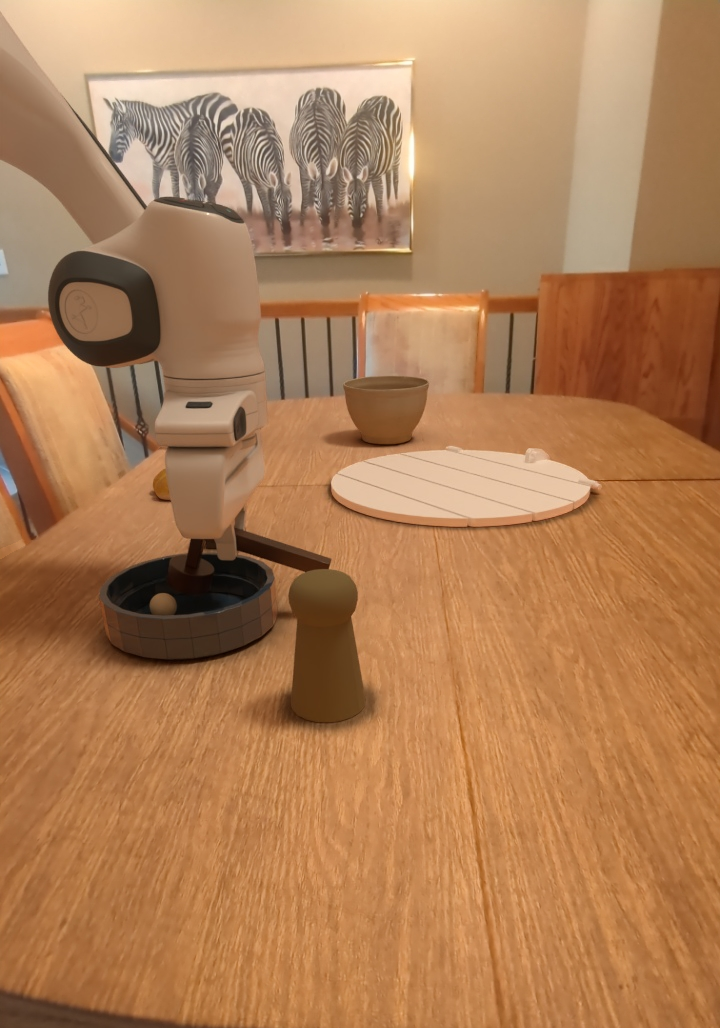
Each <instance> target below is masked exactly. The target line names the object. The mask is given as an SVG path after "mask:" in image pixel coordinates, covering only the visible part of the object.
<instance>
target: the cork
mask: <svg viewBox="0 0 720 1028" xmlns="http://www.w3.org/2000/svg"><path fill="white" fill-rule="evenodd" d="M287 596H288V604H289V606H290V608H291V609H290V610H291V612H292V614H293V616H294V617H295V618H296V629H295V630H296V631H295V644H294V654H293V655H294V657H293V669H292V672H293V673H292V681H291V682H292V683H291V695H290V697H291V698H290V706H291V710H292V711H293V712H294V714H296V715H297V716H298V717H300V718H302V719H304V720H306V721H310V722H314V723H330V724H331V723H336V722H343V721H345V720H348V719H351V718H354V717H355V716H357V715H358V714H359V713H362V710H363V709H364V708H365V706H366V694H365V689H364V681H363V676H362V671H361V665H360V664H361V663H360V659H359V653H358V647H357V642H356V636H355V632H354V630H355V629H354V624H353V618H352V616H353V614H355V612H356V609H357V605H358V600H359V591H358V588H357V585H356V583H355V581H354V580H353V578H352V577H351V576H350V575H349V574H347V573H345V572H343V571H340V570H337V569H330V568H329V569H318V570H312V571H307V572H303V573H300V574H299V575H298V576H296V577H295V578H294V579H293V580H292V583H291V584H290V586H289V590H288V595H287Z"/></svg>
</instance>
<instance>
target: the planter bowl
mask: <svg viewBox="0 0 720 1028" xmlns="http://www.w3.org/2000/svg"><path fill="white" fill-rule="evenodd" d="M429 386H430V381H429V380H428V379H426V378H423V377H418V376H409V375H373V376H372V375H371V376H363V377H357V378H353V379H348V380H346V381H344V382H343V384H342V387H343V390H344V397H345V398H344V399H345V405H346V409H347V411H348V414H349V417H350V419H351V421H352V423H353V425H354V426H355V427H356V429H357V430H358V431H359V433H360V435H361V438H362V441H363V442H365V443H369V444H374V445H397V444H404V443H407V442H409V441H410V440H412V436H413V435H412V434H413V432H414V430H415V429H416V428H417V426H418V425H419V424H420V421H421V419H422V417H423V415H424V412H425V410H426V405H427V401H428V390H429Z"/></svg>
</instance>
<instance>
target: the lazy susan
mask: <svg viewBox="0 0 720 1028" xmlns="http://www.w3.org/2000/svg"><path fill="white" fill-rule="evenodd" d="M330 488H331V489H330V491H331V495H332V497H333V498H334V499H335V500H336V502H338V503H339V504H340V505H342V506H344V507H345V508H348V509H350V510H352V511H355V512H357V513H360V514H363V515H367V516H370V517H373V518H377V519H381V520H387V521H390V522H391V521H392V522H398V523H404V524H411V525H412V524H413V525H419V526H431V527H449V528H450V527H453V528H458V527H459V528H467V527H470V528H473V527H476V528H478V527H481V528H482V527H499V526H509V525H519V524H525V523H532V522H537V521H542V520H543V521H544V520H547V519H551V518H554V517H559V516H562V515H565V514H567V513H570V512H572V511H574V510H576V509H577V508H578V509H579V507H581V506H582V505H584V504H585V503H586V502H587V501H588V500H589V497H590V494H591V489H593V490H596V491H601V490H602V488H603V485H602V484H601V483H599V482H598V481H597V480H593V479H589V478H588V477H587V475H585V473H583V472H581V471H579V470H578V469H576V468H574V467H572V466H569V465H567V464H564V463H561V462H558V461H555V460H551V457H550V455H549V454H548V452H546V451H545V450H544V449H543V448H538V447H537V448H535V447H534V448H533V447H528V448H527V450H526V451H525V454H520V453H514V452H505V451H497V450H496V451H494V450H481V449H480V450H477V449H463V448H462V447H459V446H454V445H448V446H445V448H444V449H436V450H434V449H433V450H418V451H409V452H401V453H395V454H394V453H392V454H386V455H381V456H377V457H372V458H367V459H365V460H361V461H357V462H355V463H353V464H350V465H348V466H346V467H344V468H342V469H340V470H339V471H337V472H336V473H335V474H334V475H333V477H332V478H331V481H330Z"/></svg>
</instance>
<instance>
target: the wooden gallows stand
mask: <svg viewBox="0 0 720 1028" xmlns="http://www.w3.org/2000/svg"><path fill="white" fill-rule="evenodd" d="M234 531H235V537H236V538H238V548H239V552H241V553H244V554H247V555H251V556H253V557H257V558H260V559H263V560H266V561H269V562H272V563H276V564H279V565H280V566H284V567H288V568H291V569H294V570H298V571H300V572H303V573H305V572H307V571H312V570H318V569H330V566H331V564H332V558H331V557H327V556H325V555H322V554H319V553H315V552H313V551H309V550H306V549H302V548H300V547H296V546H293V545H290V544H287V543H284V542H281V541H278V540H275V539H271V538H269V537H265V536H263V535H259V534H256V533H254V532H250V531H247V530H246V531H244V530H241V529H238V528H235V527H234ZM205 540H206V541H209V542H213V543H215V540H214V539H189V544H188V549H187V553H188V554H187V555H178V556H174V557H173V558H171V560H170V563H169V568H168V573H167V578H166V582H167V584H168V585H169V586H170V587H171V588H173V589H174V590H176V591H178V592H181V593H184V594H190V595H202V594H205V593H207V592H208V591H209V590H210V587H211V583H212V579H213V574H214V567H213V566H212V565H211V564H210V563H209V562H207V561H206V560H204V559H201V557H202V552H204V548H205V544H206V541H205Z"/></svg>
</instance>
